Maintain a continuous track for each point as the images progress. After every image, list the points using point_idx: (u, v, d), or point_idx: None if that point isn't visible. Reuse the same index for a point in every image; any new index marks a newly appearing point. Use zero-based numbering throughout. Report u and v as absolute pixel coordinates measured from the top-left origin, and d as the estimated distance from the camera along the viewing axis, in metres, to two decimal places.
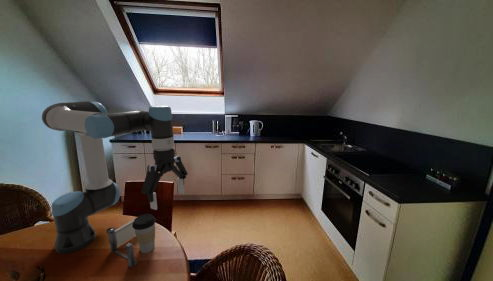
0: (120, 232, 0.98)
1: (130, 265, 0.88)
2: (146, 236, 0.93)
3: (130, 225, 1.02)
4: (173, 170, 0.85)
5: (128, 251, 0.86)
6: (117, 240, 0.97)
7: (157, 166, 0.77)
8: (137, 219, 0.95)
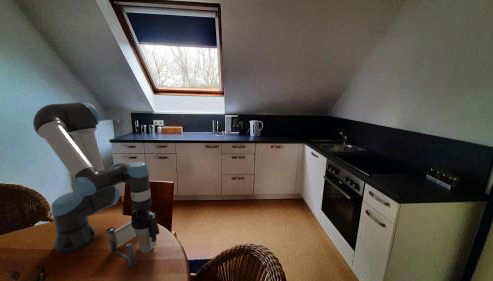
0: (120, 232, 0.98)
1: (130, 265, 0.88)
2: (146, 236, 0.93)
3: (130, 225, 1.02)
4: None
5: (128, 251, 0.86)
6: (117, 240, 0.97)
7: None
8: (137, 219, 0.95)
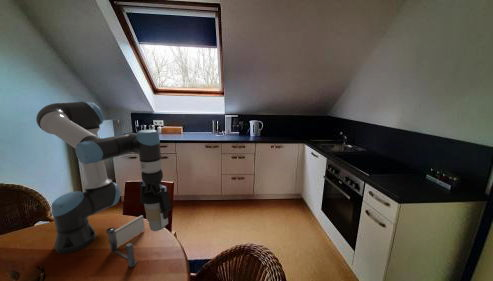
0: (120, 232, 0.98)
1: (130, 265, 0.88)
2: (157, 212, 0.84)
3: (130, 225, 1.02)
4: None
5: (128, 251, 0.86)
6: (117, 240, 0.97)
7: None
8: (147, 194, 0.86)
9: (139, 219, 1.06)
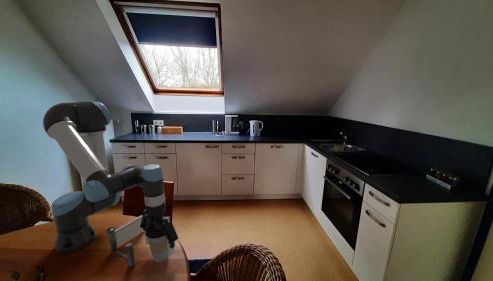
0: (120, 232, 0.98)
1: (130, 265, 0.88)
2: (161, 245, 0.88)
3: (130, 225, 1.02)
4: None
5: (128, 251, 0.86)
6: (117, 240, 0.97)
7: None
8: (150, 227, 0.89)
9: (139, 219, 1.06)
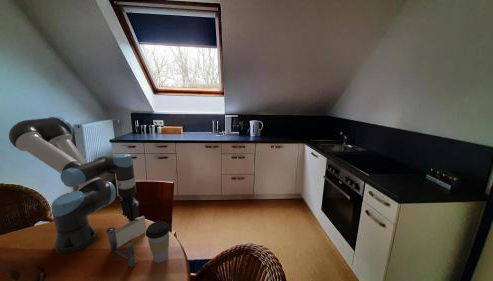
0: (120, 233, 0.98)
1: (130, 265, 0.88)
2: (161, 245, 0.88)
3: (131, 225, 1.02)
4: None
5: (128, 251, 0.86)
6: (117, 240, 0.97)
7: None
8: (150, 227, 0.89)
9: (140, 220, 1.06)
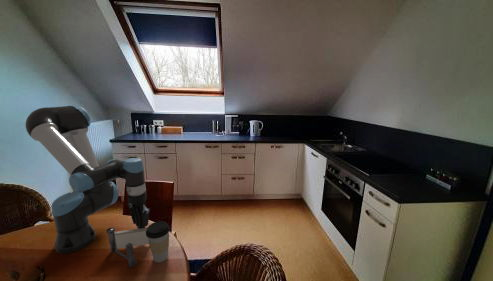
0: (120, 236, 0.96)
1: (130, 265, 0.88)
2: (161, 245, 0.88)
3: (132, 233, 0.97)
4: None
5: (128, 251, 0.86)
6: (116, 242, 0.96)
7: None
8: (150, 227, 0.89)
9: (143, 231, 0.98)
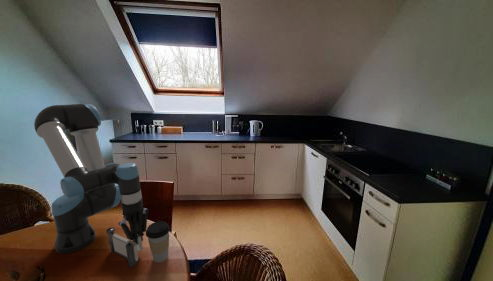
0: (115, 240, 0.93)
1: (130, 265, 0.88)
2: (161, 245, 0.88)
3: (122, 242, 0.91)
4: None
5: (128, 251, 0.86)
6: (114, 244, 0.95)
7: None
8: (150, 227, 0.89)
9: None
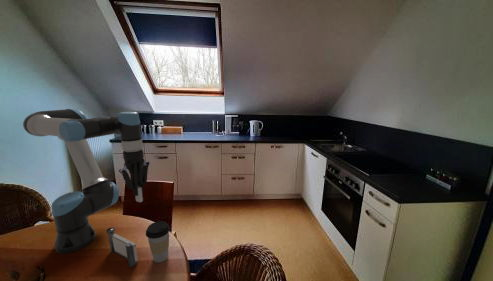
0: (115, 240, 0.93)
1: (130, 265, 0.88)
2: (161, 245, 0.88)
3: (122, 242, 0.91)
4: None
5: (128, 251, 0.86)
6: (114, 244, 0.95)
7: None
8: (150, 227, 0.89)
9: None
